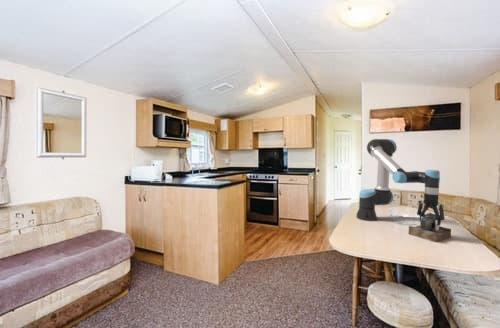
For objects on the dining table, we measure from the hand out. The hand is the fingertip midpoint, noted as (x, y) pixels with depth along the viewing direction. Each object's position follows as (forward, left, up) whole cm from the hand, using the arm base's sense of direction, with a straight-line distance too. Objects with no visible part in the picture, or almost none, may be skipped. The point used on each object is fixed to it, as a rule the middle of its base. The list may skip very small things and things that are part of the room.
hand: (429, 228), depth 162 cm
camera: (0, 0, -1) cm, 1 cm away
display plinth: (0, 0, -5) cm, 5 cm away
